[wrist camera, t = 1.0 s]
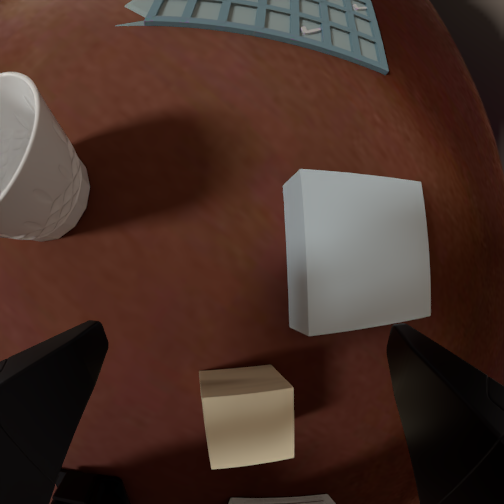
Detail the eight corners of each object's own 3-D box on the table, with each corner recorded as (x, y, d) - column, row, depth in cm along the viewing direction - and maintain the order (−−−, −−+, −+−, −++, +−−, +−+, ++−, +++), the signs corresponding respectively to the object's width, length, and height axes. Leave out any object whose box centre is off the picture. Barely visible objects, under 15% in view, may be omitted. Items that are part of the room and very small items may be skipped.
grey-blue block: (399, 311, 23) (430, 316, 19) (287, 326, 21) (308, 336, 17) (391, 194, 24) (421, 181, 20) (281, 186, 22) (300, 168, 18)
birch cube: (272, 424, 20) (294, 457, 15) (205, 432, 19) (211, 469, 14) (270, 364, 20) (293, 387, 16) (198, 370, 19) (202, 397, 15)
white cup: (109, 226, 19) (47, 184, 9) (20, 264, 17) (-71, 255, 7) (87, 130, 19) (40, 47, 9) (5, 170, 17) (-68, 119, 7)
